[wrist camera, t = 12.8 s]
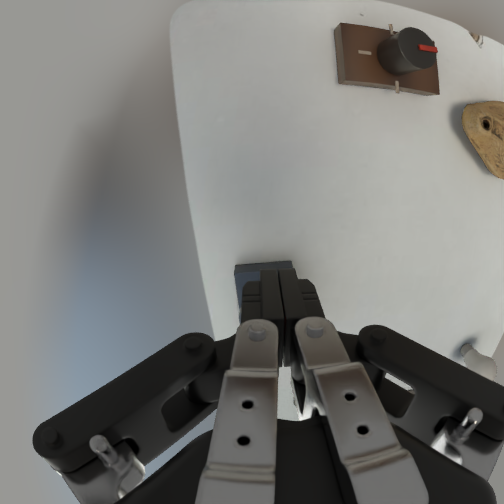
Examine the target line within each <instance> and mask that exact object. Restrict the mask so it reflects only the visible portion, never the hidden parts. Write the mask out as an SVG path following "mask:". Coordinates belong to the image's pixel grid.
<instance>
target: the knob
mask: <svg viewBox="0 0 504 504" xmlns="http://www.w3.org/2000/svg"><path fill="white" fill-rule="evenodd" d="M437 52H438V51H437V47H435V46H434V44H433V42H432V40H431V39H430V38H429V37H428V36H427V35H426V34H425V33H424V32H423V31H421V30H419V29H416V28H412V27H408V28H405V29H403V30H401V31H399V32H398V33H396V34H394V35H392V36H391V37H389V38H387V39H386V40H384V41H383V42H381V43H380V44H379V46H378V48H377V57H378V60H379V62H380V64H381V65H382V67H383V68H384V69H385V70H386V71H388V72H389V73H391V74H394V75H398V76H399V75H405V74H408V73H412V72H416V71H419V70H423V69H427V68H430V67H431V66H433V64H434V63H435V61H436V53H437Z"/></svg>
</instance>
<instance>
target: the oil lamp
mask: <svg viewBox="0 0 504 504" xmlns="http://www.w3.org/2000/svg"><path fill="white" fill-rule="evenodd" d="M462 125H463V129H464V131H465V133H466V135H467V137H468V138H469V140H470V142H471V143H472V145H473V146H474V148H475V149H476V151H477V152H478V154H479V156H480V157H481V158H482V160H483V162H484V164H485V165H486V167H487V168H488V170H489V171H490V172H491V173H492V174H493V175H495V176H496V177H498V178H500V179H504V102H500V101H487V102H483V103H475V104H467V105H466V107H465V108H464V112H463V114H462Z"/></svg>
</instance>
